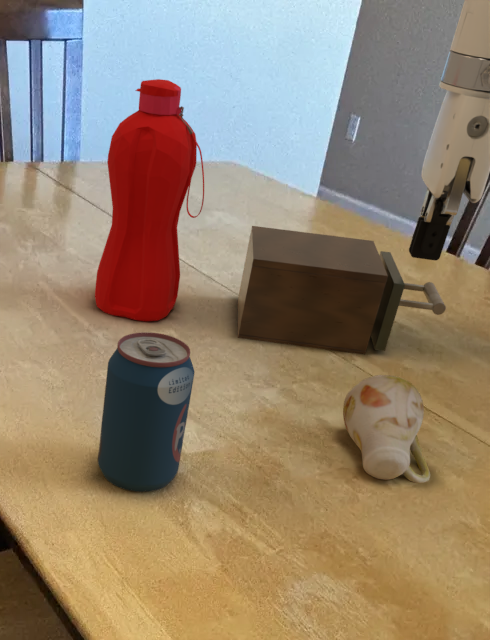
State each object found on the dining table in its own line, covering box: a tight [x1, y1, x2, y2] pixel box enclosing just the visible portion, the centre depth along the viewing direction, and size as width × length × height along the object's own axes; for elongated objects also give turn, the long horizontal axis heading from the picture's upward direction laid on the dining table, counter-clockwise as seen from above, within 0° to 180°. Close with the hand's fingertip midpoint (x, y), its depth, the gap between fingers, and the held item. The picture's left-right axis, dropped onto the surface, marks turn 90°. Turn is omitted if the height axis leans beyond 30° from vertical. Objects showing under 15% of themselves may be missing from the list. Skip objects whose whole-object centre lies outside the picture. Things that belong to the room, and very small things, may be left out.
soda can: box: [97, 331, 195, 493], centre depth 72 cm, size 7×7×12 cm
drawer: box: [370, 250, 447, 352], centre depth 102 cm, size 19×11×8 cm, turn 82°
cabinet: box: [237, 225, 388, 356], centre depth 103 cm, size 15×13×10 cm
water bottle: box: [94, 78, 205, 323], centre depth 99 cm, size 9×11×25 cm
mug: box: [342, 374, 431, 484], centre depth 80 cm, size 8×10×10 cm
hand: (423, 256), depth 99 cm, fingers closed
